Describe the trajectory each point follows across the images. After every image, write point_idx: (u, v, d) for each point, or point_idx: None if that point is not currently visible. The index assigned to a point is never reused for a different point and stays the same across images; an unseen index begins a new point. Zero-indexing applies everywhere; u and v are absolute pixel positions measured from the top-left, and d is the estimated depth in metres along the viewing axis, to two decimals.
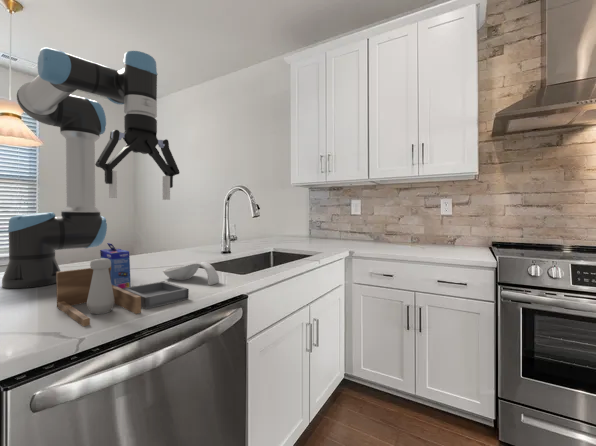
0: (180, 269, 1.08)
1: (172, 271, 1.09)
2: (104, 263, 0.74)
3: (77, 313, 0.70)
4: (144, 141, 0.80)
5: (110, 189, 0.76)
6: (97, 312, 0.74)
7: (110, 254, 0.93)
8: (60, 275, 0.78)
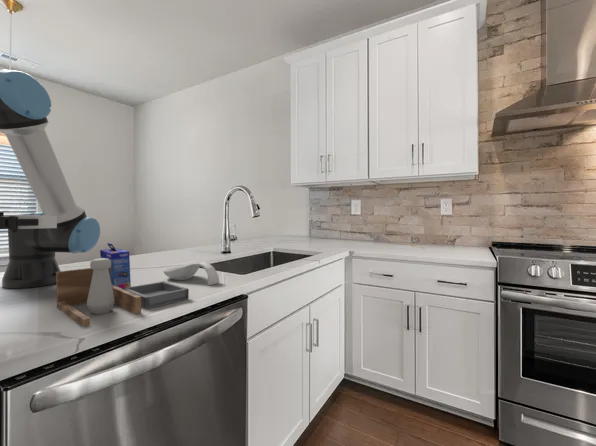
0: (180, 269, 1.08)
1: (172, 271, 1.08)
2: (104, 263, 0.74)
3: (77, 313, 0.70)
4: None
5: None
6: (97, 312, 0.74)
7: (110, 254, 0.93)
8: (60, 275, 0.78)
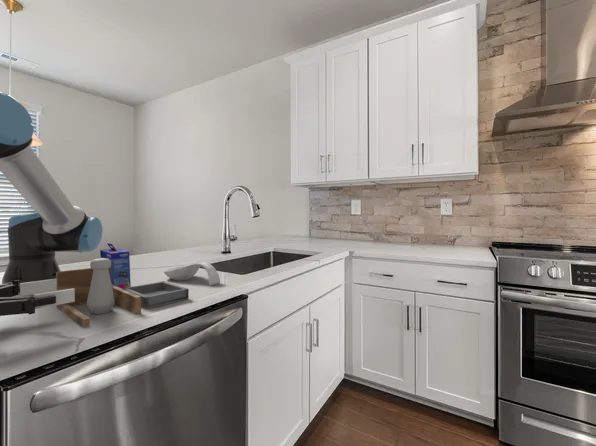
0: (181, 269, 1.08)
1: (173, 271, 1.08)
2: (104, 263, 0.74)
3: (77, 313, 0.70)
4: None
5: None
6: (97, 312, 0.74)
7: (110, 254, 0.93)
8: (60, 275, 0.78)
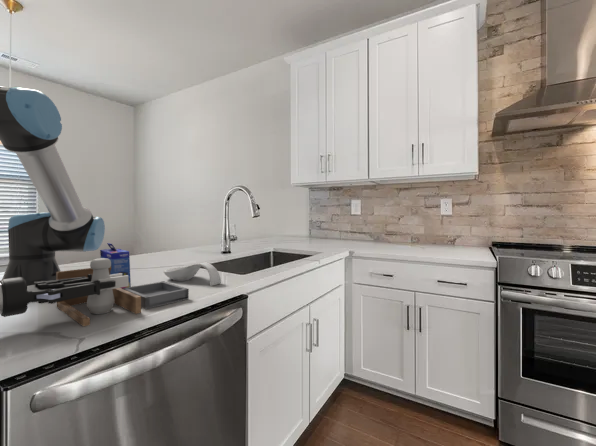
0: (181, 270, 1.07)
1: (173, 272, 1.07)
2: (104, 263, 0.74)
3: (77, 313, 0.70)
4: None
5: None
6: (97, 312, 0.74)
7: (110, 254, 0.93)
8: (60, 275, 0.78)
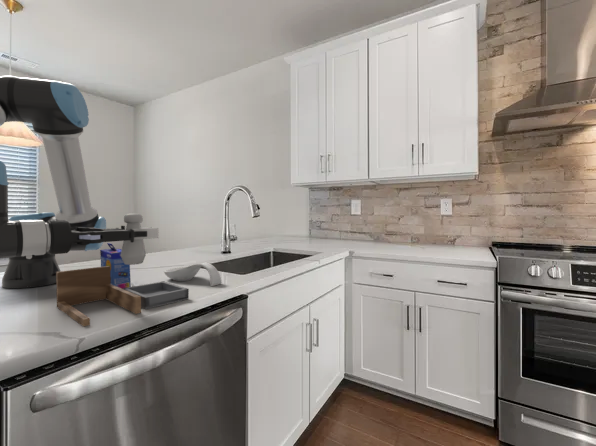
0: (182, 270, 1.07)
1: (173, 272, 1.07)
2: (137, 217, 0.79)
3: (77, 313, 0.70)
4: None
5: None
6: (130, 262, 0.79)
7: (110, 254, 0.93)
8: (60, 275, 0.78)
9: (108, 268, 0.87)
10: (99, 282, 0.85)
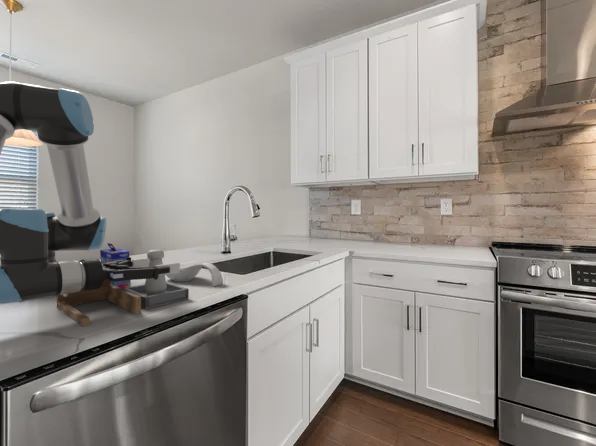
0: (183, 270, 1.06)
1: None
2: (159, 253, 0.86)
3: (77, 313, 0.70)
4: None
5: None
6: None
7: (110, 254, 0.93)
8: None
9: None
10: None
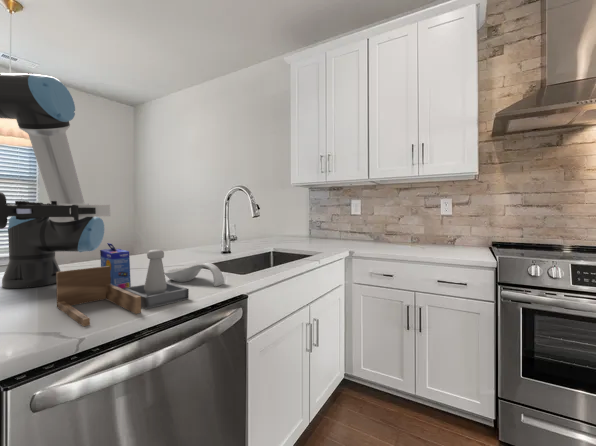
0: (183, 270, 1.06)
1: (175, 273, 1.06)
2: (159, 253, 0.86)
3: (77, 313, 0.70)
4: None
5: None
6: None
7: (110, 254, 0.93)
8: (60, 275, 0.78)
9: (108, 268, 0.87)
10: (99, 282, 0.85)
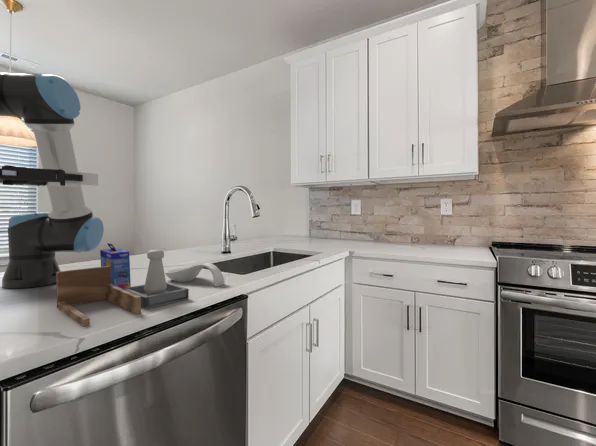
0: (184, 271, 1.06)
1: (175, 273, 1.06)
2: (159, 253, 0.86)
3: (77, 313, 0.70)
4: None
5: None
6: None
7: (110, 254, 0.93)
8: (60, 275, 0.78)
9: (108, 268, 0.87)
10: (99, 282, 0.85)
